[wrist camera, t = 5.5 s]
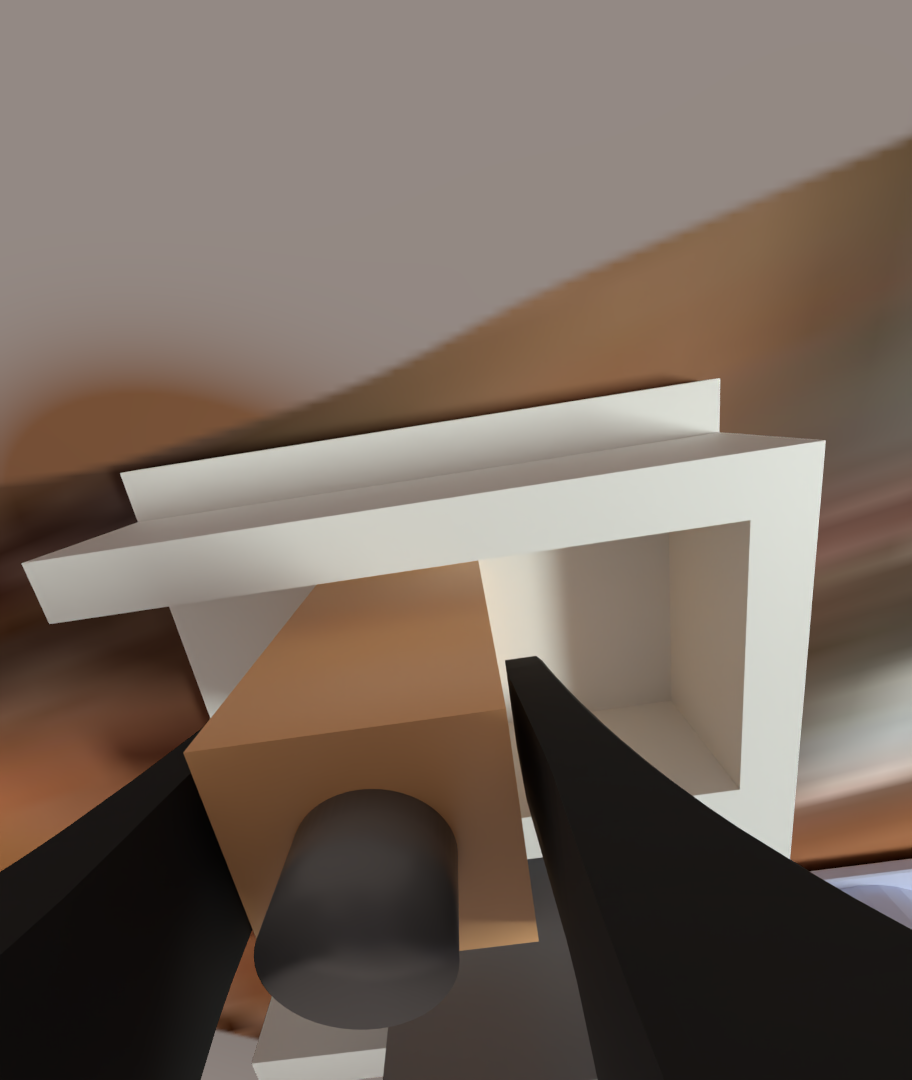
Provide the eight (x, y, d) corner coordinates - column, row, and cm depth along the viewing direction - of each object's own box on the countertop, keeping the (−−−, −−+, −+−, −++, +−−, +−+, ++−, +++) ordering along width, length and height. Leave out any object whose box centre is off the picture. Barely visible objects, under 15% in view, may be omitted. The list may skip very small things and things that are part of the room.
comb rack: (697, 908, 16) (772, 1059, 12) (314, 955, 16) (275, 1115, 12) (700, 380, 11) (832, 364, 7) (143, 469, 11) (-9, 496, 7)
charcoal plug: (555, 879, 14) (657, 1331, 7) (433, 895, 14) (416, 1354, 7) (544, 781, 13) (651, 1203, 6) (410, 798, 13) (367, 1233, 6)
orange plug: (497, 690, 12) (558, 1058, 5) (355, 710, 12) (231, 1095, 5) (477, 554, 11) (521, 790, 4) (321, 578, 11) (109, 844, 4)
